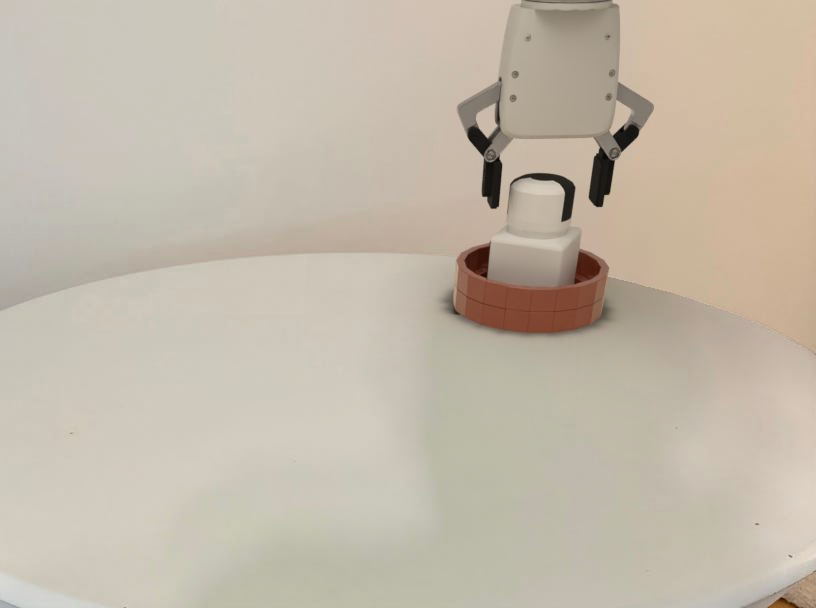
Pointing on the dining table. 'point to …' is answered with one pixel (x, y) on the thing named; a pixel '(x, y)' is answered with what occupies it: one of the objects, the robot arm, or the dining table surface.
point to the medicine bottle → (537, 234)
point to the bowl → (529, 296)
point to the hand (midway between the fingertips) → (544, 204)
